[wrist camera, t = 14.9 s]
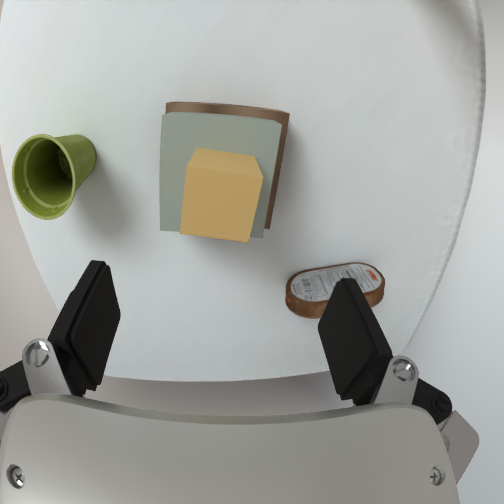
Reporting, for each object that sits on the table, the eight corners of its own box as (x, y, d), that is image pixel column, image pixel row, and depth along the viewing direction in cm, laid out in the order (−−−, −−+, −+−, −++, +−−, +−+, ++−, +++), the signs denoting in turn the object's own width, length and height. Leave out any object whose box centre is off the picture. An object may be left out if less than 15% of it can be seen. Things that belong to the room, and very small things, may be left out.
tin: (281, 286, 42) (291, 326, 35) (280, 270, 40) (291, 310, 33) (369, 270, 42) (391, 305, 35) (372, 255, 40) (396, 289, 33)
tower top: (274, 120, 24) (282, 125, 21) (258, 219, 30) (262, 237, 27) (171, 111, 23) (162, 115, 20) (167, 212, 29) (160, 230, 25)
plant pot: (41, 142, 25) (1, 162, 18) (92, 108, 25) (53, 117, 17) (66, 200, 31) (34, 230, 23) (118, 173, 30) (89, 201, 23)
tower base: (280, 110, 28) (289, 113, 24) (264, 210, 35) (269, 228, 31) (175, 101, 26) (166, 103, 22) (171, 203, 33) (163, 221, 29)
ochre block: (254, 156, 22) (263, 177, 17) (243, 208, 25) (248, 242, 20) (196, 147, 21) (186, 166, 16) (189, 200, 24) (179, 233, 19)
